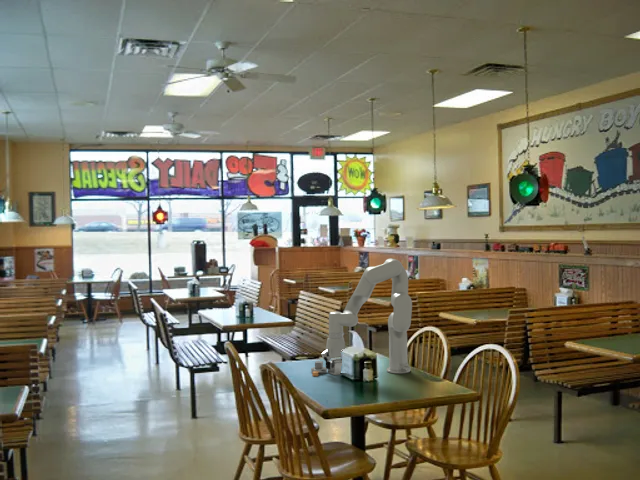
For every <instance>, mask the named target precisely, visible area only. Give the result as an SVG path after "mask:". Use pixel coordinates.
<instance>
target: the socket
mask: <svg viewBox="0 0 640 480" xmlns="http://www.w3.org/2000/svg"><path fill="white" fill-rule="evenodd" d="M329 362H330V369H327V373H328V374H331V375H333V376H339V375H341V374H340V373H341V366H342V358H340V357H335V358H331V359H330V361H329Z"/></svg>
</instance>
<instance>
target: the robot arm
mask: <svg viewBox="0 0 640 480" xmlns="http://www.w3.org/2000/svg"><path fill="white" fill-rule="evenodd" d="M390 279H391V282H392V283H391V297H390V304H391V306H392V307H393V310H392V311H393V312H391V313H390V314H389V315H388V319H387V327H388V329H387V330H388V350H389V351H388V353H389V354H388V357H389V359H388V360H389V362H388V363H389V364H388V365H389V366H388V367H386V372H387V373H390V374H409V373H410V372H411V369H412V366H409V363H408V333H407V332H408V330H409V329H410V328H411V323H412V315H413V312H412V311H413V300H412V297H411V296H410V295H409V275H408V273H407V271H406V269H405V267H404V266H403V264H402V262H401V261H400V260H399V259H395V258H390V257H389V258H387V259H386V260H385V261H384V262H383V264H379V265H376V266H368V267H366V268H365V270H364V272H363V273H362V276H361V278H360V279H359V281H358V284H357V285H356V288H355V290H354V291H353V293H352V294H351V296H350V298H349V299H348V302H347V304H346V305H345V308H344V309H343V311H342V312H341V311H330V312H329V314H328V337H327V339H326V344H325V350H324V351H323V352H322V353H321V357H322V359H323V360H324V361H325V367H326V369H327V370H328V369H330V362H329V361H331V359H334V358H342V357H341V353H340V352H342V351H343V350H342V349H345V348H346V342H345V338H344V335H345V332H344V327H350V328H351V327H355V326H356V325H357V324H358V323H359V316H358V313H359V312H360V309H361V307H362V306H363V305H364V304H365V303H366V302H367V301H368V300H369V299H370V298H371V295H372V293H373V291H374V289H375V287H376V285H377V284H379V283H382V282H384V281H385V282H386V281H388V280H390ZM341 350H342V351H341Z"/></svg>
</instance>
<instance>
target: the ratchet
mask: <svg viewBox="0 0 640 480" xmlns="http://www.w3.org/2000/svg"><path fill="white" fill-rule="evenodd" d="M310 369H311V370H310V372H311V374H312V377H319V376H320V375H323V374H324V375H325V374H327V373H328V369H326V366H324V361H322V360H316V361H315V362H314V366H313V367H310Z"/></svg>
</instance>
